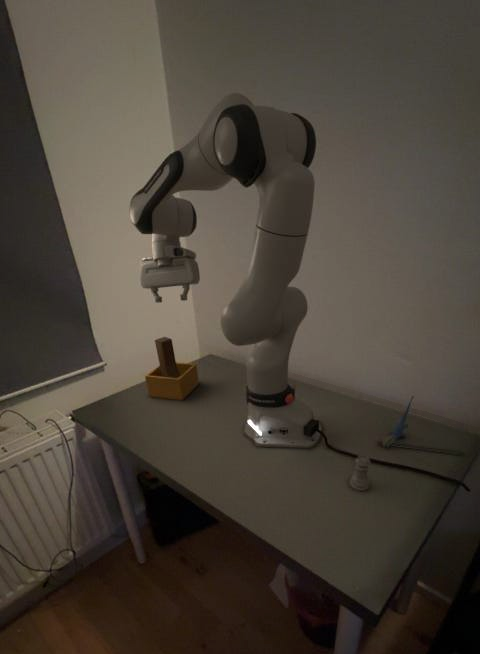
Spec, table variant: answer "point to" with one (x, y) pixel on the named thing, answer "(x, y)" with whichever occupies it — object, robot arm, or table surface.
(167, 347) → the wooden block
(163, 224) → the robot arm
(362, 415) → the table surface
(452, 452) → the rod
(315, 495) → the table surface
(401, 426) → the dinosaur figurine
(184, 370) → the bin
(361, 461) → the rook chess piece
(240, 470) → the table surface
